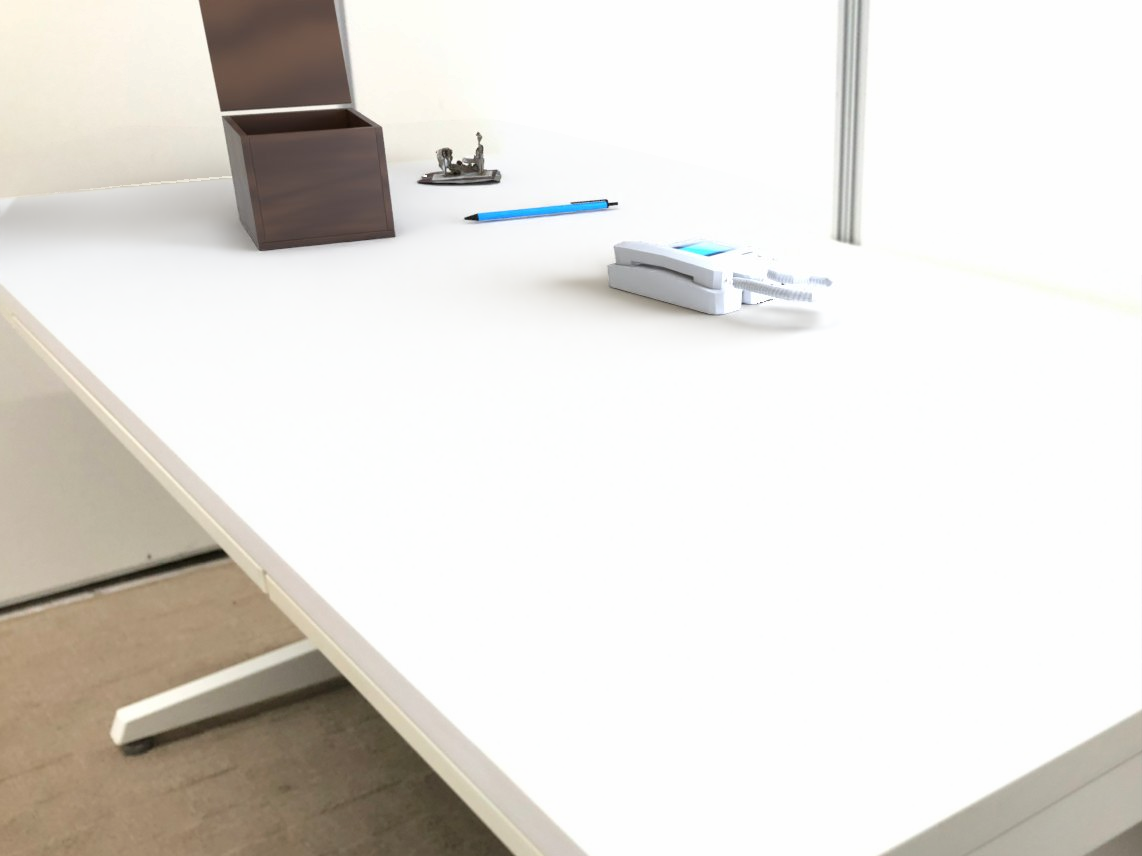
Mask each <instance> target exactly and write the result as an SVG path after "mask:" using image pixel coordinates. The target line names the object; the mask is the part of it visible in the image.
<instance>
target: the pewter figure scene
mask: <svg viewBox="0 0 1142 856" xmlns="http://www.w3.org/2000/svg"><path fill="white" fill-rule="evenodd" d="M475 136H476V139H477V142H478V143H477V148H476V149H475V154H473V158H471V157H462V159H461V160H460V159H458V160H456V162H455V163H452V162H453V159H454V157H453V152H454V151H453V149H452V148H449V147H442V148H439V149H438V150H436V151H435V154H436V159H437V162H438V165H437V166H438V168H440V169H441V170H438V171H432V172H428V173H424V174H425V175H427V177H421V179H418V180H417V183H440V184H441V183H442V184H443V183H447V184H448V183H452V184H455V183H456V184H467V183H468V184H469V183H478V182H479V183H481V182H489V181H496V182H501V179H502V174H501V171H500V170H499V169H486V168H485V158H484V146H483V145H484V144H481V141H482V139H483V135H482V134H481V133H480V132H479V131H477V132H476V134H475ZM466 164H467V165H466ZM448 170H449V171H448Z"/></svg>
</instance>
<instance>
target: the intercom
mask: <svg viewBox="0 0 1142 856" xmlns="http://www.w3.org/2000/svg"><path fill="white" fill-rule="evenodd" d="M613 251H614V257H615V258H614V259H615V262H613V263H609V264H607V265H606V266H607V267H606V268H607V278H608V286H609V287H610V288H614V289H618V290H621V291H624V292H627V293H632V294H635V295H639V296H643V297H647V298H650V299H654V300H657V301H661V302H665V303H669V304H672V305H675V306H679V307H682V308H686V309H690V310H693V311H697V312H701V313H704V314H708V315H714V316H715V315H725V314H729V313H732V312H736V311H739V310H740V309H741V308H742V304H746V305H747V304H748V305H756V304H757V303H758V304H761V303H760V302H763V303H765V302H764V301H766V300H768V299H770V298H776V299H777V300H778V299H779V300H784V301H788V302H789V301H790V302H800V303H803V302H804V303H815V302H819V301H825V300H829V299H835V298H837V296H838V295H839V292H840V289H841V282H839V281H838V280H837V279H836V278H835V277H834V276H832V275H828V274H821V273H820V274H819V273H813V272H808V271H809V264H807V261H806V260H805V259H804V258H803V257H797V256H792V255H789V254H784V253H780V252H775V251H770V250H766V249H762V248H757V247H753V246H746V247H745V246H744V247H742V246H739V245H738V246H737V245H733V244H729V243H725V242H720V241H716V240H711V239H707V238H691V239H687V240H683V241H678V242H675V243H669V244H666V245H661V244H656V243H651V242H646V241H622V242H619V243H616V244H614V245H613ZM799 285H807V286H815V287H816V286H817V287H821V288H816V289H805V290H800V289H792V288H794V287H796V286H799ZM766 302H767V301H766Z"/></svg>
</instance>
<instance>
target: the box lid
mask: <svg viewBox="0 0 1142 856" xmlns="http://www.w3.org/2000/svg"><path fill="white" fill-rule="evenodd" d="M198 5H199V8H200V9H199V10H200V16H201V20H202V25H203V31H204V35H205V41H206V45H207V50H208V55H209V60H210V65H211V70H212V74H213V76H212V77H213V81H214V87H215V90H216V91H215V92H216V96H217V100H218V106H219V111H220V113H226V112H227V113H229V112H245V111H257V110H258V111H261V110H274V109H275V110H276V109H290V108H291V109H292V108H306V107H320V106H321V107H323V106H337V105H338V106H340V105H351V104H352V103H353V101H352V97H351V91H350V85H349V80H348V73H347V67H346V62H345V55H344V50H343V44H342V39H341V33H340V27H339V21H338V17H337V16H338V15H337V11H336V6H335V0H198Z"/></svg>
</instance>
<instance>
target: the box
mask: <svg viewBox="0 0 1142 856" xmlns="http://www.w3.org/2000/svg"><path fill="white" fill-rule="evenodd" d="M221 120H222V127H223V133H224V137H225V144H226V150H227V155H228V161H229V166H230V172H231V179H232V184H233V190H234V196H235V201H236V208H237V213H238V219H239V222H240V223H241V225H242V226H243V228H244V229H245V231H246V232H247V233H248V235H249V237H250V238H251V240H252V241H253V243H254V245H255V246H256V247H257V249H258V251H270V250H280V249H288V248H298V247H299V248H300V247H309V246H317V245H319V246H320V245H327V244H338V243H346V242H357V241H366V240H376V239H386V238H395V237H396V229H395V221H394V213H393V211H394V210H393V204H392V195H391V188H390V180H389V170H388V163H387V156H386V155H387V154H386V147H385V139H384V130H383V126H381V125H380V124H379V123H377V122H375V121H374V120H372V119H370V118H369V117H368V116H366V115H365V114H362V112H360V111H358V110H356V109H355V108H353V107H352V106H351V107H337V108H336V107H335V108H322V109H306V110H304V109H303V110H292V111H291V110H289V111H276V112H275V111H274V112H260V113H259V112H258V113H245V114H244V113H243V114H229V115H221Z"/></svg>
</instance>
